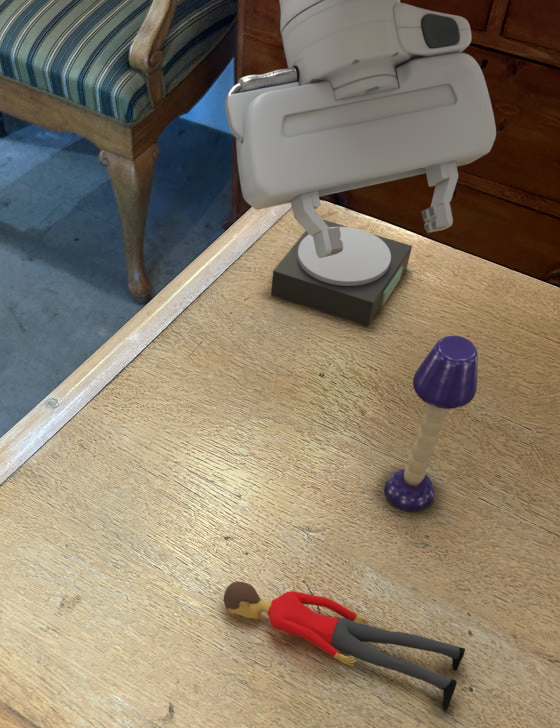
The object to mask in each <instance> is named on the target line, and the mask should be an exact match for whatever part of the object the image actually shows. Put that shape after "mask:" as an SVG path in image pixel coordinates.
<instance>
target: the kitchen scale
mask: <svg viewBox="0 0 560 728" xmlns="http://www.w3.org/2000/svg"><path fill="white" fill-rule="evenodd" d="M323 221H324V222H325V223H326V224H327V226H328V227H329V229H332V228H337V227H339V229H340V233H341V237H340V240H341V241H342V243H343V250H342V252H340V253H338V254H335V255H331V256H327V257H323V258H319V257H318V256H317V254H316V249H315V245H314V240H313V236H310V235H309V233H308V232H307V231H306V230H304V232H303V234H302V235H301V236H300V238H298V239H297V241H296V242H295V243H294V244H293V246H292V247H291V248H290V250H289V251H288V252H287V253H286V254H285V256H284V257H283V258H282V259H281V260H280V262H279V263H278V264H277V265H276V266H275V268H274V269H273V271H272V278H271V290H270V295H271V296H274V297H276V298H280V299H283V300H285V301H288V302H291V303H295V304H299V305H301V306H304V307H307V308H310V309H313V310H316V311H319V312H323V313H325V314H328V315H331V316H334V317H337V318H340V319H344V320H346V321H350V322H353V323H356V324H358V325H361V326H365V327H369V326H370V325H371V324H372V322H373V321H374V319H375V318H376V316H377V314H378V313H379V312H380V310H381V309H382V308H383V306H384V305H385V303H386V301H387V300H388V299H389V297H390V296H391V294H392V293H393V291H395V288H396V287H397V285H398V284H399V282H401V278H402V277H403V276H404V274H405V273H406V271H407V268H408V265H409V261H410V257H411V252H412V248H413V245H411V244H408V243H404V242H401V241H397V240H395V239H391V238H387V237H384V236H380V235H377V234H373V233H371V232H369V231H366V230H363V229H361V228H355V227H352V226H351V227H349V226H347V225H343V224H339V223H336V222H333V221H330V220H326V219H323Z"/></svg>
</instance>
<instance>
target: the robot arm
mask: <svg viewBox="0 0 560 728" xmlns="http://www.w3.org/2000/svg"><path fill="white" fill-rule="evenodd" d="M278 3H279V8H280V23H279V30H280V31H279V32H280V38H281V41H282V46H283V51H284V55H285V59H286V64H287V67H285V68H281V69H276V70H272V71H270V72H269V71H268V72H267V73H261V74H250V75H246V76H242V77H240V78H239V79H238V80H237V83H236V84H235V85H233V86H232V87H231V88H230V89H229V90H228V91H227V94H226V96H225V100H224V110H225V115H226V119H227V124H228V128H229V130H230V133H231V134H232V136H233V137H234V138H235V147H236V148H235V149H236V159H237V161H236V162H237V167H238V168H237V170H238V178H239V184H240V190H241V194H242V198H243V199H244V201H245V202H246V203H247V204H248V205H249V206H250V207H252V208H253V209H254V210H257V211H259V210H265V209H269V208H272V207H278V206H282V205H287V204H290V206H291V210H292V214H293V218H294V219H295V221H297V223H298V224H299V225H300V226H301V227H302V229H304V231H307V232H308V233H309V235H310V236H313V240H314V245H315V249H316V254H317V256H318V257H319V258H323V257H327V256H331V255H335V254H338V253H340V252H342V250H343V243H342V241H341V240H340V237H341V233H340V229H339V227H337V228H332V229H329V227H328V226H327V224H326V223H325V222H324V221H323V220H324V219H323V218H322V217H321V216H320V214H319V212H317V211H316V209H318V208H320V207H321V200H320V197H323V196H327V195H328V196H329V195H333V194H337V193H342V192H347V191H351V190H355V189H359V188H364V187H370V186H374V185H378V184H379V185H380V184H383V183H388V182H392V181H397V180H402V179H407V178H410V177H415V176H419V175H424V174H425V175H426V180H427V185H428V187H435V188H434V190H433V195H432V199H431V203H430V207H428V208H426V209H424V210H422V211H421V217H422V220H423V222H424V225H423V227H424V230H425V232H426V233H428V234H430V233H433V232H439V231H444V230H446V229H448V228H450V227H452V226H453V224H454V222H453V221H454V218H453V214H452V208H451V203H450V202H452V199H453V196H454V193H455V189H456V186H457V182H458V179H459V172H458V167H461V166H466V165H468V164H471V163H473V162H475V161H477V160H479V159H481V158H483V157H484V156H485V155H487V154H488V153H490V152H491V150H492V148H493V146H494V144H495V143H494V142H495V141H496V137H497V127H496V121H495V114H494V110H493V107H492V101H491V98H490V94H489V90H488V86H487V82H486V80H485V79H486V78H485V76H484V73H483V70H482V69H481V66H480V65H479V63H478V62H477V61H476V59H475V58H474V57H473V56H472V55H470V54H468V53H465V52H464V50H466V49H467V48H468V47H469V46H470V44H471V42H472V29H471V25H470V23H469V21H468V20H467V19H466V18H465V17H463V16H460V15H455V14H450V13H444V12H439V11H434V10H430V9H426V8H422V7H417V6H415V5H411V4H408V3H404V2H401V0H278ZM238 91H239V92H238ZM236 92H237V93H236Z"/></svg>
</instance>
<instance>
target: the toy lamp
mask: <svg viewBox="0 0 560 728" xmlns="http://www.w3.org/2000/svg"><path fill="white" fill-rule="evenodd" d="M478 361H479V356H478V349H477V347H476V345H475V344H474V342H473V341H471V340H470V339H469V338H466V337H464V336H462V335H454V334H453V335H447V336H444V337H442V338H440V339H439V340H437V342H435V344H434V345H433V347H432V348H431V349H430V351H429V352H428V354H427V355H426V356H425V357H424V359H423V360H422V362H421V363H420V365H419V366H418V368H417V369H416V371H415V372H414V375H413V378H412V387H413V390H414V392H415V394H416V395H417V396H418V398H419V399H421V400H422V401H423V402H424V403H426V405H425V409H424V415H423V417H422V418H421V422H420V428H419V429H418V431H417V433H416V440H415V441H414V443H413V444H412V447H411V454H410V455H409V456H408V460H407V465H406V467H405V468H402V469H400V470H397V471H395V472H394V473H392V474H391V475H390V476H389V477H388V479H386V482H385V485H384V488H383V489H384V495H385V498H386V499H387V501H388V502H389V503H390V504H391V505H392V506H394V507H395V508H397V509H399V510H402V511H406V512H412V513H413V512H414V513H415V512H421V511H423V510H426V509H427V508H428V507H430V506H431V505H432V503H433V502H434V499H435V487H434V486H435V485H434V484H433V481H432V480H431V478H430V476H428V475H427V474H426V472H427V469H428V468H429V466H430V464H431V463H430V462H431V458H432V457H433V455H434V453H435V451H436V445H437V444H438V442H439V440H440V437H441V431H442V430H443V428H444V426H445V419H446V418H447V416H448V413H449V410H453V409H458V408H462V407H465V406H466V405H468V404H469V403H470V402H472V401H473V399H474V398H475V396H476V393H477V389H478V370H479V369H478V367H479V365H478V364H479V363H478Z"/></svg>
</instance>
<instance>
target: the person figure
mask: <svg viewBox="0 0 560 728" xmlns="http://www.w3.org/2000/svg"><path fill="white" fill-rule="evenodd" d="M223 603H224V607H225V609H226V610H227V611H229V612H230V613H231V614H235V615H240V616H242V617H244V618H246V619H259V618H260V617H261V614H262V613H266V614H267V617H268V620H269V622H270V625H271V627H272V629H275V630H278V631H283V632H284V633H287V634H288V635H289V634H290V635H292V636H295V637H300V638H302V639H304V640H306V641H308V642H309V643H310V644H312V645H313V646H315V647H317V648H318V649H320V650H321V651H323V652H325V653H327V654H329V656H330V657H332V658H333V659H337V660H338V661H339V662H341V663H343V664H345V665H347V666H351V667H354V666H355V664H353V663H356V662H357V659H359V660H361V661H362V662H365V663H368V664H370V665H371V664H372V665H374V666H378V667H382V668H384V669H388V670H391V671H396V672H398V673H400V674H403V675H405V676H409V677H412V678H415V679H418V680H421V681H423V682H425V683H427V684H430V685H432V686H434V687H436V688H437V689H439V690H441V691H442V693H443V694H442V695H443V698H442V704H441V707H442V710H443V711H446V712H447V710H448V709H449V707H450V704H451V702H452V699H453V696H454V692H455V690H456V688H457V685H458V683H457V682H458V681H457V680H456V679H453V678H452V677H449V676H446V675H443V674H440V673H437V672H435V671H432V670H430V669H428V668H425V667H423V666H421V665H419V664H416V663H415V662H411V661H408V660H405V659H403V658H400V657H396V656H392V655H388V654H386V653H383V652H381V651H380V650H377V649H375V648H373V647H371V646H370V645H368V644H366V643H375V644H382V645H383V644H384V645H394V646H400V647H405V648H411V649H417V650H421V651H426V652H432V653H437V654H440V655H443V656H446V657H448V658H451V661H452V663H451V670H452V671H453V672H457V671H458V669H459V667H460V664H461V661H462V659H463V658H464V656H465V652H466V648H464V647H461V646H458V645H454V644H452V643H447V642H443V641H439V640H435V639H431V638H429V637H425V636H421V635H416V634H412V633H409V632H402V631H391V630H387V629H383V628H379V627H376V626H372V625H371V624H370V623H369V620H368V619H367V618H366V617H364V616H362V615H359V614H357V613H355V612H354V611H352V610H351V609H348V608H347V607H346V606H343V605H342V604H341V603H339V602H337V601H335V600H333V599H331V598H328V597H325V596H320V595H315V594H309V593H304V592H300V591H294V590H289V591H286V592H284V593H282V594H280V595H279V596H278V597H276V598H274V599H272V600H265V599H262V598H261V597H260V595H259V594H258V592H257V590H256V588H255V587H254V586H253V585H252V584H250V583H248V582H245V581H233V582H231V583H230V584H229V585H227V587H226V588H225V592H224V593H223ZM306 605H309V606H317V607H323V608H327V609H328V610H331V611H332V612H334V613H336V614H337V615H339V616H341V617H339V616H331V617H330V616H327V615H324V614H323V615H322V614H319V613H317V612H316V611H314V610H312V609H310V608H309V607H308V606H306ZM341 653H342V654H341ZM344 654H345V655H344ZM346 655H348V656H346Z"/></svg>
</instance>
